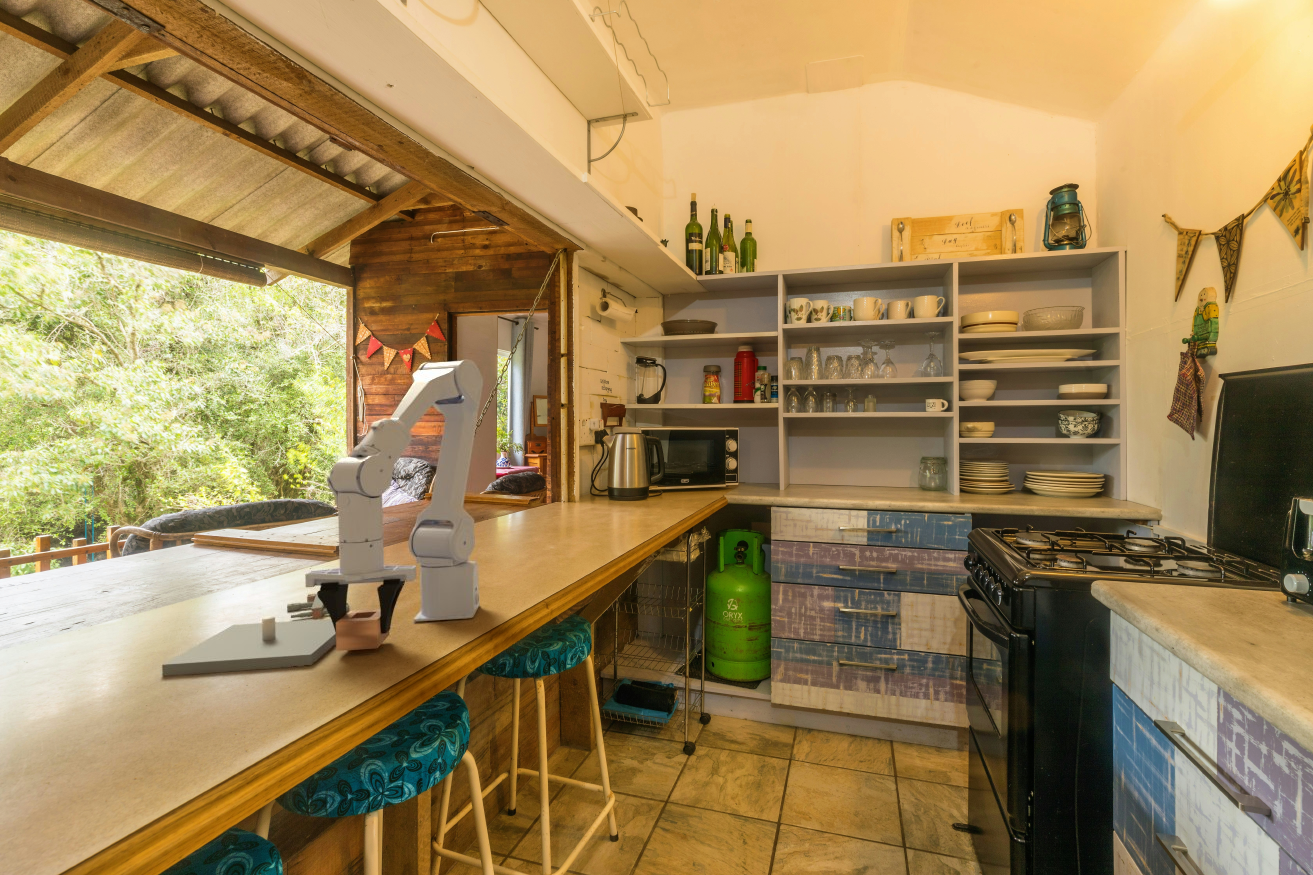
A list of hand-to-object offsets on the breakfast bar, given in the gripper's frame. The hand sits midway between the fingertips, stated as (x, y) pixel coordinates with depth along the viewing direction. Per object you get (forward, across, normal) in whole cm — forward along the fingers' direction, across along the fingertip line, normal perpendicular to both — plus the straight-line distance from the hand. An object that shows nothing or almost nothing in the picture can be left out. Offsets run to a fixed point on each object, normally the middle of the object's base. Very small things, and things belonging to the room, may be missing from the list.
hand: (363, 632), depth 83 cm
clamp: (+3, -15, +21) cm, 26 cm away
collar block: (+1, 0, 0) cm, 1 cm away
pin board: (+2, -14, +3) cm, 14 cm away
